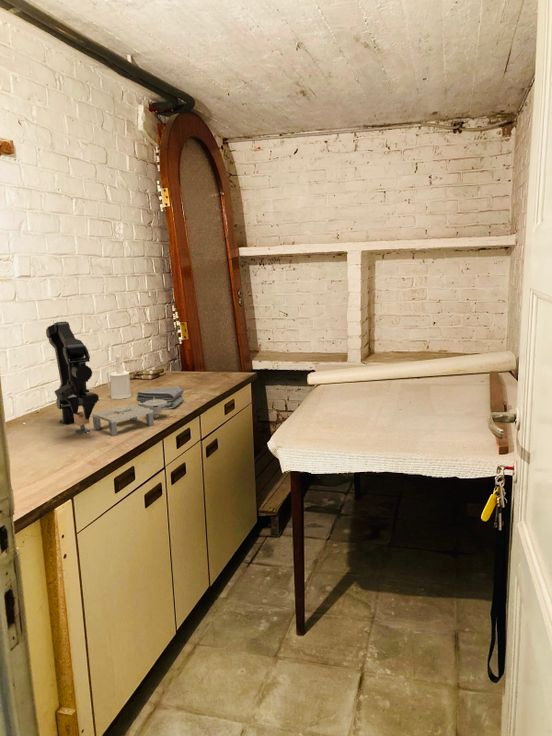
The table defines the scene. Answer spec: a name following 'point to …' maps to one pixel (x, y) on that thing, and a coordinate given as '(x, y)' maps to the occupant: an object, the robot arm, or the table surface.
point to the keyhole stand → (122, 416)
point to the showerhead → (155, 406)
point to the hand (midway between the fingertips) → (81, 417)
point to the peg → (81, 422)
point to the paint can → (119, 381)
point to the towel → (162, 396)
